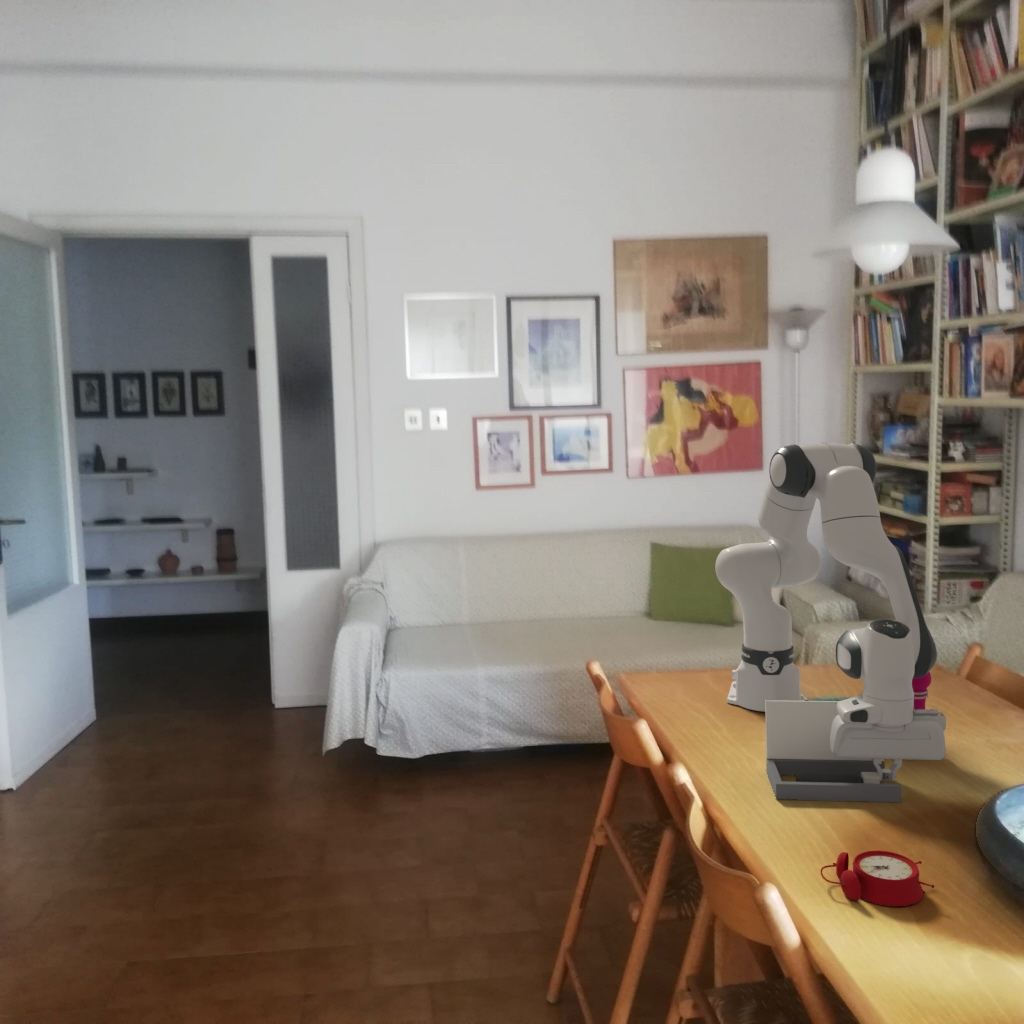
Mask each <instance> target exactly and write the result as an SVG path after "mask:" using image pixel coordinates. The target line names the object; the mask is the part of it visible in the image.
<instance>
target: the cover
mask: <svg viewBox="0 0 1024 1024" xmlns="http://www.w3.org/2000/svg"><path fill="white" fill-rule="evenodd" d="M839 701H840V700H808V701H776V700H765V712H764V713H765V750H766V751H765V753H766V754H765V757H766V758H767V759H812V760H867V761H872V760H871V759H862V758H837V757H835V755H834V754H833V753H832V752H831V750H830V733H831V727H832V722H833V720H834V718H835V717H836V716H837V715H839V714H838V712H837V703H838V702H839ZM766 758H765V759H766ZM882 761H884V762H885V759H882Z"/></svg>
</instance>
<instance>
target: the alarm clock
mask: <svg viewBox="0 0 1024 1024" xmlns="http://www.w3.org/2000/svg"><path fill="white" fill-rule="evenodd" d="M838 854H839V855H838V856H837V859H836V862H832V864H831V865H824V866H823V867H821V868H820V871H819V872H820V875H821V877H822V879H823V880H825V882H828V883H831V884H835V885H840V887H841V890H842V893H843V894H844V896H845V895H846V896H847V897H848V898H849V900H850V899H851V900H850V901H854V900H856V901H859V900H860V899H862V900H864V901H866V900H867V901H866V902H868V901H870V902H869V903H871V902H872V903H871V904H874V903H875V905H878V904H879V905H878V906H882V905H885V906H884V907H889V906H905V907H909V906H908V905H910V906H912V905H911V904H913V905H916V904H918V903H919V902H920V901H922V899H923V896H924V892H923V889H924V888H923V887H922V885H924V886H928V887H931V888H932V889H934V888H935V885H934V884H929V883H926V882H922V881H920V870H919V867H918V865H919V864H920V865H922V863H923V862H922V861H921V860H918V862H914V861H913V860H912V859H911V858H909V857H907V856H906V855H902V854H900V853H896V852H892V851H886V850H867V851H863V852H860V853H859V854H857V855H856V856H855V857H854V859H853V862H852V869H849V862H850V859H849V858H850V857H849V853H848V852H845V851H842V852H840V853H838ZM835 867H836V868H835ZM826 868H835V869H836V871H835V872H836V873H835V874H836V876H837V878H838V879H839V881H840V882H839V881H832V880H829V879H827V878H826V877H825V876H824V874H823V870H824V869H826ZM922 888H923V889H922ZM846 896H845V897H846ZM847 897H846V898H847ZM860 897H861V898H860ZM848 898H847V899H848ZM917 902H918V903H917ZM915 903H916V904H915ZM880 904H881V905H880Z"/></svg>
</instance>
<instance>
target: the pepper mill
mask: <svg viewBox="0 0 1024 1024" xmlns="http://www.w3.org/2000/svg"><path fill="white" fill-rule="evenodd" d="M931 684H932V674H931V672H930V671H929V672H928V673H927V674H926V675H925V676H924V677H922V678H913V679H912V688H913V692H914V709H926V700H927V698H928V697H929V694H928V693H929V689H928V688H929V686H930V685H931Z"/></svg>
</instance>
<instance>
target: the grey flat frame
mask: <svg viewBox="0 0 1024 1024" xmlns="http://www.w3.org/2000/svg"><path fill="white" fill-rule="evenodd" d="M765 759H766V763H765V764H766V767H765V768H766V769H765V770H766V772H767V773H766V772H765V773H766V775H768V776H767V778H768V780H769V783H770V784H769V785H770V787H771V786H772V787H771V789H773V790H772V792H774V793H773V795H774V794H775V795H774V798H775V797H776V798H775V800H776V799H797V800H796V801H815V800H816V801H820V802H821V801H823V802H826V801H827V802H828V801H829V802H858V801H869V802H868V803H872V802H873V801H874V802H873V803H902V800H901V799H902V786H901V784H900V783H880V784H878V783H830V782H796V781H782V779H781V776H790V775H799V774H827V775H859V776H861V772H877V769H876V767H875V765H874V764H873V762H872V761H867V760H812V759H767V758H765ZM878 764H879V763H878ZM885 764H886V763H885V760H884V761H882V764H879V766H880V768H881V769H886V767H885V766H886V765H885ZM834 800H835V801H834ZM843 800H844V801H843Z"/></svg>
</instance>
